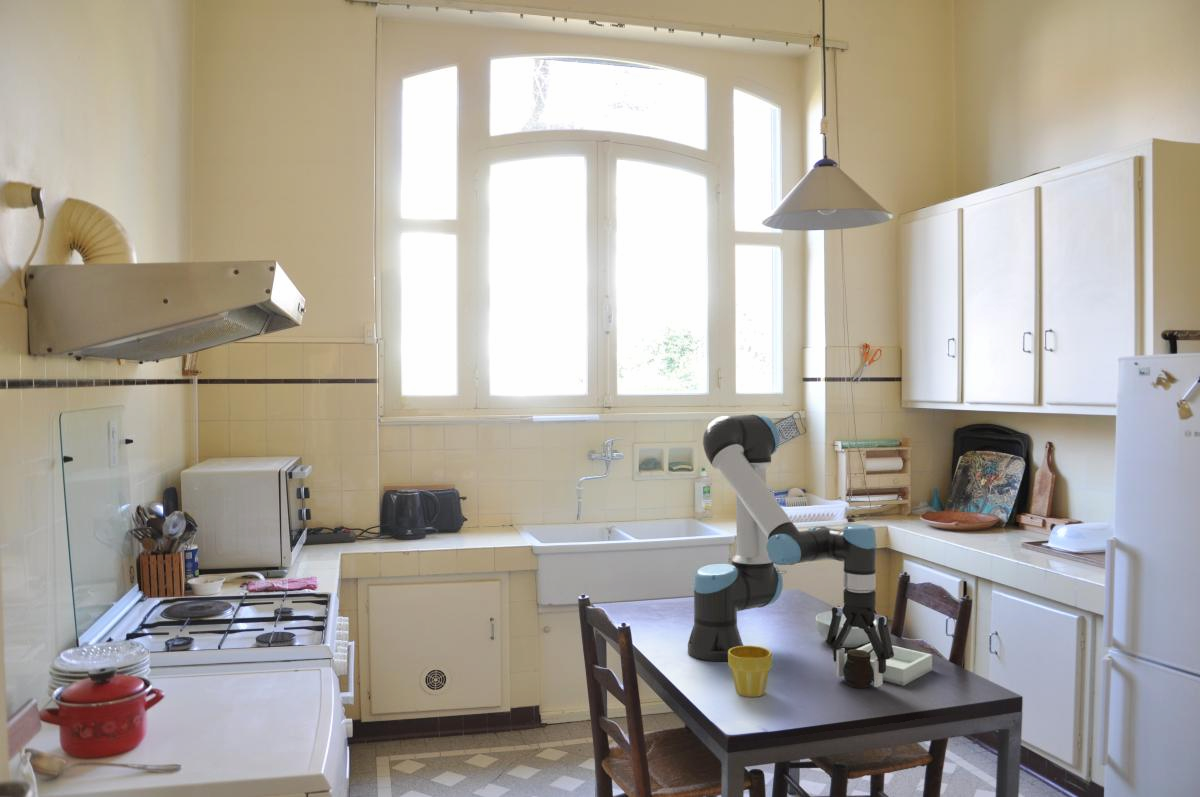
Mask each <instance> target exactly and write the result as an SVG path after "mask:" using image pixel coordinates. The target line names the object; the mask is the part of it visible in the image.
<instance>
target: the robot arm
mask: <svg viewBox="0 0 1200 797" xmlns="http://www.w3.org/2000/svg"><path fill="white" fill-rule="evenodd" d="M702 438H703V439H702V446H703V451H704V453H705V454H704V455H705V456H706V458H707V460H708V462H709V463H710V465H711V466H712V468H713V469H714V470H716V471H720V472H721V474H722V476H724V477H723V478H725V479H726V481H727V483H728V485H730V487H731V489H732V490H733V491H734V493H735V516H736V518H735V519H736V520H735V524H736V527H735V528H736V554H735V555H734V556H733V557H732V558H731V564H729V563H718V564H717V563H716V564H715V563H714V564H713V563H712V564H708V565H704V566H701V567H700V568H699V569H697V571H696V572H695V573H694V580H693V581H694V582H693V595H694V596H693V602H694V603H693V604H694V605H693V606H694V607H693V613H694V614H693V616H694V618H693V627H692V630H691V632H690V635H689V639H688V642H687V653H688V655H690V656H691V657H693V658H695V659H699V660H703V661H710V662H727V661H728V651H729V649H731V648H733V647H737V646H744V644H743V642H742V638H741V635H740V631H739V630H740V629H739V627H738V612H740V611H746V610H747V611H748V610H750V609H756V608H758V609H759V608H764V607H766V606H769V605H772V604H774V603H775V602H777V600H778V599H779V598H780V597H781V595H782V593H783V592H782V591H783V588H784V587H783V586H784V583H783V576H782V573H780V569H779V567H777V566H794V565H796V564H800V563H805V562H815V561H821V560H826V559H829V560H833V561H838V562H843V583H842V584H843V587H844V589H843V595H842V596H843V600H842V601H843V607H841V606H840V605H837V606H835V607H834V606H833V607H832V608H831V611H832V620H831V624H830V628H829V632H828V636H827V640H826V639H825V640H826V641H825V644H826V645H827V646H830V647H832V650H833V661H834V663H836V668H835V669H836V672H835V673H836V674H835V675H836V677H838V678H840V677H843V676H844V674H843V668H844V665H845V654H846V653H845V651H846V648H845V647H842V645H843V643H844V641H845V639H846V638H847V636H848V634H849V632H850V630H851V628H852V627H858V628H861V629H864V631H865V633H866V634H867V635H868V638H869V640H870V643H871V645H872V647H873V649H874V651H875V654H876V656H877V659H875V660H874V678H873V680H874V681H873V682H874V683H873V686H874V688H878V687H880V686H882V685H884V684H883V682H884V681H883V673H885V671H886V659H890V658H892V657H894V652H893V648H892V646H893V645H892V639H891V635H890V631H889V627H888V623H889V617H888V616H887V615H880V614H877V611H876V599H877V596H876V594H877V593H876V590H875V589H876V588H877V587H876V584H877V583H876V576H877V575H876V574H877V573H876V560H877V558H876V557H877V538H876V530H875V528H874V527H873V526H871V525H866V524H859V523H858V524H857V523H854V524H852V523H851V524H847V525H845V526H844V527H843V530H839V529H835V528H832V527H826V526H823V525H822V526H819V525H814V526H810V527H809V528H808V529H807V530H804V531H802V530H801V531H799V529H798V528H797V526H796V525H795V524H794V523H793V521H792V520H791V518H790V517H789V516H788V514H787V513H786V512H785V510H784V508H783V507H782V506H781V504H780V503H779V502H778V500H777V498H775V496H774V495H773V493H772V492H771V491H770V489H769V488H768V487H767V468H768V467H769V466H770V465H771V463H772V455H774V454H775V453H776V452H777V449H778V448H779V446H780V440H781V439H780V433H779V429H778V428H777V426H776V424H775V423H774V422H773V421H772V419H771V418H770V417H768V416H765V415H762V414H761V415H760V414H744V415H720V416H718V417H715V418H714V419H713V420H712V421H711V422H710V423H708V425H707V426H706V428H705V429H704V433H703V437H702ZM843 614H844V615H845V617H846V621H845V623H844V624H843V628H842V629H841V631H840V633H839V635H838V637H837V633H838V629H839V625H840V621H841V615H843ZM874 620H876V621H877V622H876V623H877V624H878V627H877V630H878V631H877V632H876V627H875V625H874V623H873V621H874ZM869 627H870V628H869ZM878 633H879V634H878ZM836 637H837V639H836Z"/></svg>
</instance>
